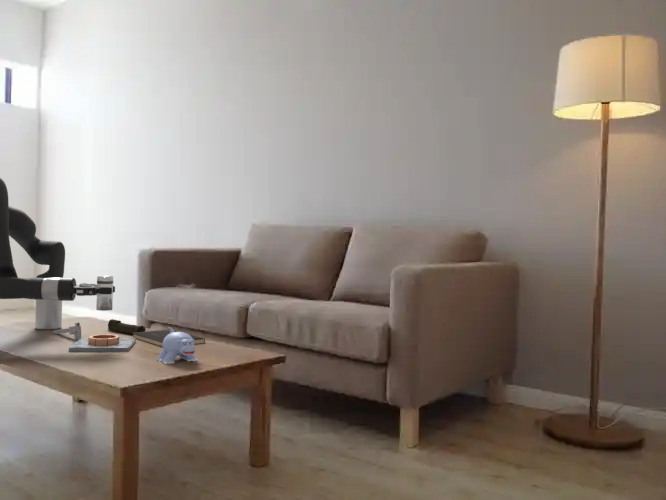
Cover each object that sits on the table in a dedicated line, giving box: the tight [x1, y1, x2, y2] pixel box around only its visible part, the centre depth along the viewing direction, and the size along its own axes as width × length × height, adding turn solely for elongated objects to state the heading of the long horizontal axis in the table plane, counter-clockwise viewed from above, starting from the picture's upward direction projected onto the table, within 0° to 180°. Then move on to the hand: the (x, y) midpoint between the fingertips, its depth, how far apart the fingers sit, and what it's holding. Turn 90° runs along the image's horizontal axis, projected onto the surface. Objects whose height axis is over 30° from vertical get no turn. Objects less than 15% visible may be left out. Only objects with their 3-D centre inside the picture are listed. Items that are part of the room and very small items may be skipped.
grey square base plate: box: [68, 333, 137, 353], centre depth 214 cm, size 18×18×3 cm
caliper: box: [52, 322, 82, 341], centre depth 230 cm, size 20×1×6 cm, turn 47°
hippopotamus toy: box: [156, 326, 199, 365], centre depth 194 cm, size 11×15×10 cm
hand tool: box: [107, 318, 146, 335], centre depth 242 cm, size 19×4×5 cm, turn 54°
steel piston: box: [95, 275, 114, 312], centre depth 213 cm, size 5×5×11 cm
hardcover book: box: [131, 328, 206, 348], centre depth 229 cm, size 16×23×2 cm
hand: (113, 290), depth 214 cm, fingers closed on steel piston, 5 cm apart
